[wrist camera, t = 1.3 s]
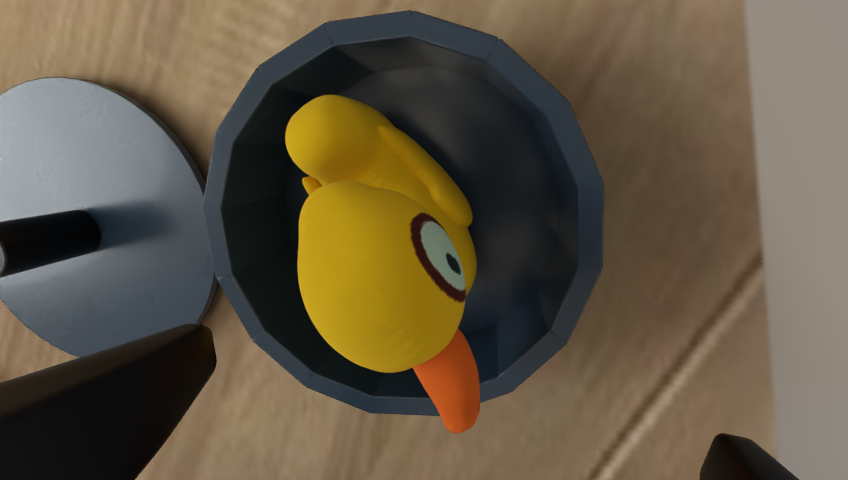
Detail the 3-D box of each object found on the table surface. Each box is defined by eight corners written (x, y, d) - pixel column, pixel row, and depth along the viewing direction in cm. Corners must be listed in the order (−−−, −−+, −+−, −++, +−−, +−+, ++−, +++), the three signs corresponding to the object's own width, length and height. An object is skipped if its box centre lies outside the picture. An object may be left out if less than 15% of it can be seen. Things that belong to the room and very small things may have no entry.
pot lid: (26, 353, 26) (-95, 407, 21) (-53, 95, 23) (-220, 80, 18) (250, 357, 24) (177, 420, 18) (197, 64, 20) (90, 35, 15)
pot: (296, 349, 23) (239, 408, 18) (253, 68, 20) (170, 42, 15) (573, 352, 20) (599, 423, 15) (574, 29, 17) (608, -19, 12)
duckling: (528, 290, 20) (560, 429, 10) (433, 338, 21) (381, 502, 11) (399, 78, 18) (296, 8, 9) (308, 145, 20) (133, 146, 10)
